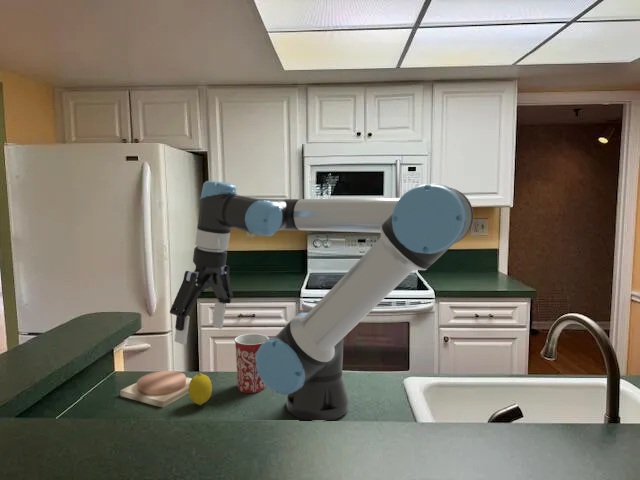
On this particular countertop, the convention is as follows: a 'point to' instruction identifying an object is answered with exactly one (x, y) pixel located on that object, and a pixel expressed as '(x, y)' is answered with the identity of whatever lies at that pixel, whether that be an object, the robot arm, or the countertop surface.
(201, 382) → the lemon
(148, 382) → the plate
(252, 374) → the mug
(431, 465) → the countertop surface
